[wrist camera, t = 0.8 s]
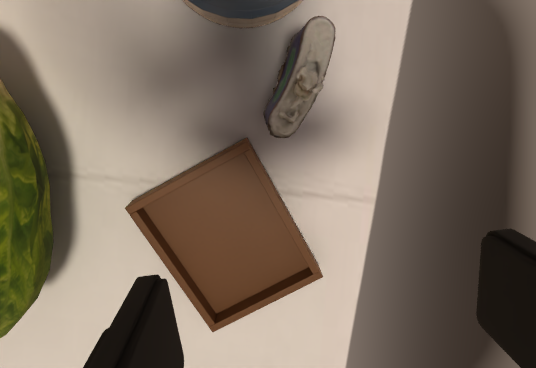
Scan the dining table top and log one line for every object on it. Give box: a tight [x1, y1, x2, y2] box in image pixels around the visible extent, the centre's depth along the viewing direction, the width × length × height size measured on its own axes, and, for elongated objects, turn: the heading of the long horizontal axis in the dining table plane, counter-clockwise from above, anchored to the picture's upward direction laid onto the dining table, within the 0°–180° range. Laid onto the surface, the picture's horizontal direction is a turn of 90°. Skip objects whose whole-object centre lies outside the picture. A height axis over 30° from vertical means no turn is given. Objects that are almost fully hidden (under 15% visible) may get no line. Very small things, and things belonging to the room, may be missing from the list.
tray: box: [125, 138, 323, 332], centre depth 37 cm, size 17×14×2 cm
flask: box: [264, 16, 335, 138], centre depth 29 cm, size 9×3×11 cm, turn 158°
